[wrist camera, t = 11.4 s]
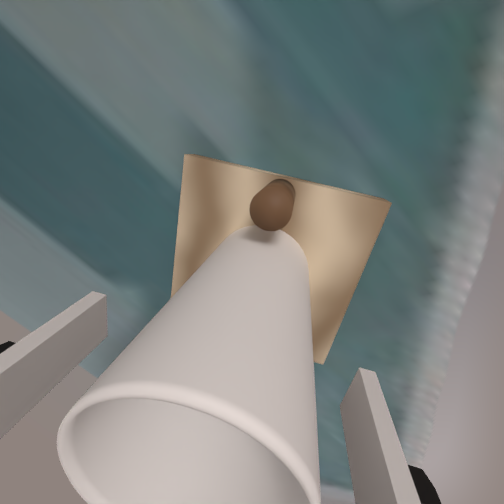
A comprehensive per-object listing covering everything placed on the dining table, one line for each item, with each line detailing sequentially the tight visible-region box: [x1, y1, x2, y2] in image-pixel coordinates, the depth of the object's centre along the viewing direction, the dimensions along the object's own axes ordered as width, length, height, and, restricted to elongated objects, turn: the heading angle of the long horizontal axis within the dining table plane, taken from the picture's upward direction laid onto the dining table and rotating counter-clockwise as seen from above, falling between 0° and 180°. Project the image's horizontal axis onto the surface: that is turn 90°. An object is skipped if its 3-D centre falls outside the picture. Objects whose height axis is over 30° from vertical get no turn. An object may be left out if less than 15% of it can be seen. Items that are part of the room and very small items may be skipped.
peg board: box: [171, 154, 392, 364], centre depth 20 cm, size 16×16×8 cm
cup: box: [57, 225, 321, 504], centre depth 15 cm, size 8×8×16 cm
